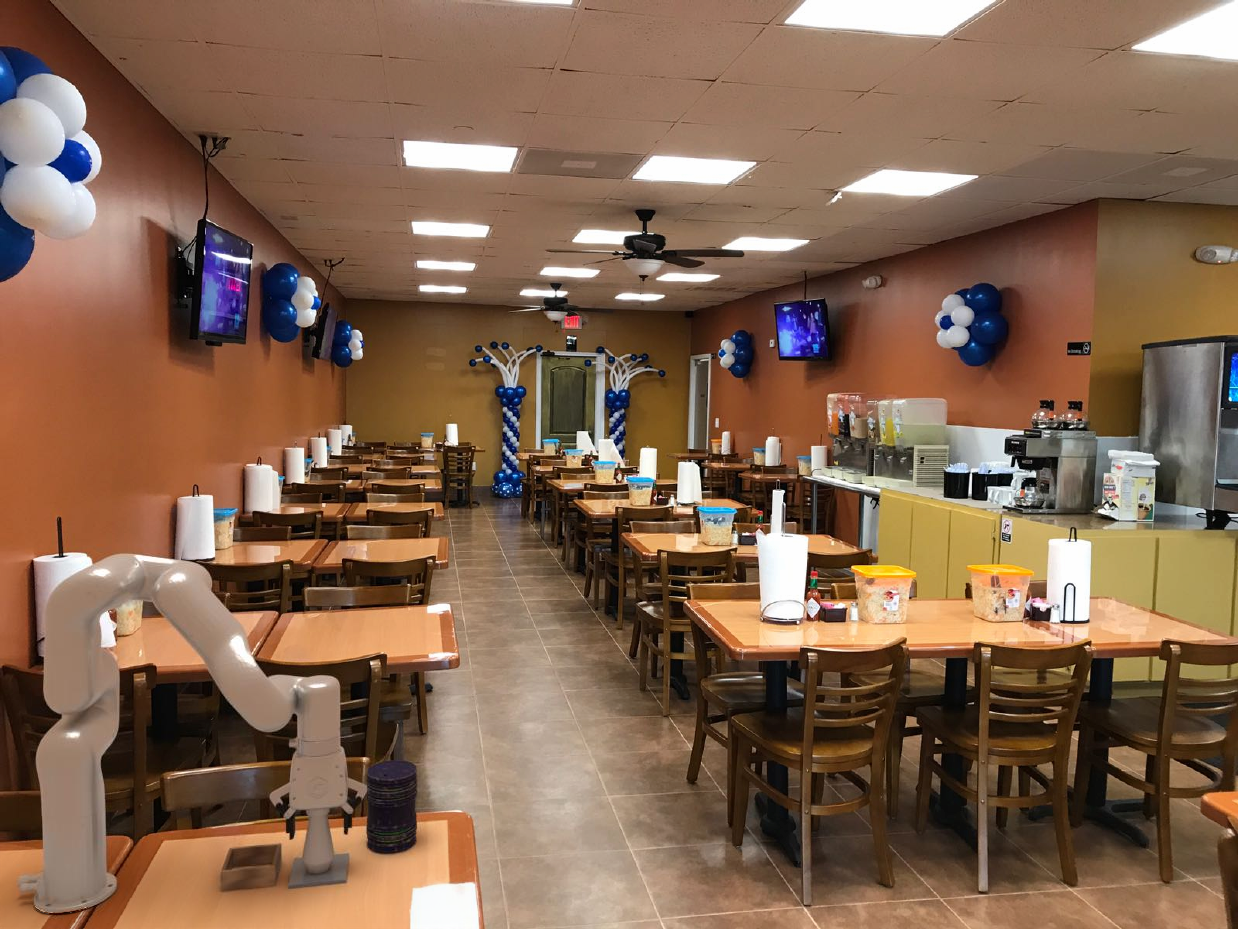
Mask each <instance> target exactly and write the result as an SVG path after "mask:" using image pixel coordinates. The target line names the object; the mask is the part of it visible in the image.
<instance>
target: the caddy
mask: <svg viewBox="0 0 1238 929" xmlns="http://www.w3.org/2000/svg"><path fill="white" fill-rule="evenodd" d="M282 857H283V856H282V842H279V843H268V844H266V843H265V844H259V845H258V844H257V845H255V844H254V845H248V846H247V845H245V846H235V847H234V846H233V847H229V849H228V852H227V855H226V856H225V859H224V862H223V865H222V867H221V870H220V877H219V879H220V880H219V882H220V892H226V891H227V892H228V891H236V890H237V891H239V890H245V889H246V890H247V889H259V888H267V887H275V886H276V884H277V881H276V880H278V876H279V873H280V872H279V871H280V869H281V868H280V867H281V865H282ZM267 863H270V864H272V865H269V866H259V865H268V864H267ZM247 866H256V867H247ZM257 866H258V867H257ZM237 867H243V868H237ZM244 867H245V868H244ZM233 868H234V869H233Z"/></svg>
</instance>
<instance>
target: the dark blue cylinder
mask: <svg viewBox="0 0 1238 929" xmlns="http://www.w3.org/2000/svg"><path fill="white" fill-rule="evenodd" d="M417 770H418V769H417V765H416V764H415V763H413V762H411V761H408V760H400V759H398V760H397V759H393V760H386V761H381V762H377V763H375V764H372V765H371V766H370V767H368V768H367V770H366V784H365V785H367V787H368V788H367V792H366V794H365V796H366V800H367V817H366V827H365V830H366V831H365V833H366V847H368V848H367V849H368V850H369V851H370V852H372V853H374V852H375V853H374V854H377V853H378V854H377V855H396V853H397V854H400V853H403V852H406V851H409V850H410V849H413V847H414V846H415V845H416V843H417V829H418V822H417V818H418V816H417V812H416V798H417V794H418V790H417V789H418V779H417V776H418V775H417Z"/></svg>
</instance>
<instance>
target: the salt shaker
mask: <svg viewBox="0 0 1238 929" xmlns="http://www.w3.org/2000/svg"><path fill="white" fill-rule="evenodd" d="M330 810H331V808H322V809H309V810H305V814H306V816H308V822H307V827H306V834H305V837H304V838H305V840H304V844H303V850H302V856H301V858H302V862H303V864H304V865H305V867H306V869H307V871H308V873H312V874H320V873H323V872H326V871H327V870H328V869H329V867H330V865H331V863H332V861H333V859H334V854H335V848H334V843H333V838H332V832H331V827H330V821H329V817H328V814H329V813H330Z"/></svg>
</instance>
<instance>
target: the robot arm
mask: <svg viewBox="0 0 1238 929" xmlns="http://www.w3.org/2000/svg"><path fill="white" fill-rule="evenodd" d="M212 587H213V579H212V576H211V575H210V572H209V571H208V570H207V569H206V568H205V567H204V566H203V565H201V564H199V563H196V562H193V561H190V560H183V559H173V558H166V557H158V556H149V555H144V554H134V553H117V554H112V555H110V556H107V557H105V558H103V559H100V560H99V561H97V562H94V563H93V564H91V565H89V566H87V567H85V568H83V569H82V570H79V571H77V572H75V573H73V574H72V575H70V576H68V577H67V578H65V579H63V580H62V581H61V582H59V584H57V586H56V587H55V588H54V590H52V592H51V594H50V596H49V597H48V599H47V603H46V604H45V613H44V648H43V686H42V687H43V692H42V693H43V696H44V697H43V699H44V701H45V702H46V705H47V706H48V707H49V708H50V709H51V711H53V712H55V713H57V714H59V715H61V719H59V720H58V721H57V722H56V723H55V724H54V725H53V726H52V727H51V728H50V729H49V730H48V731H47V732H46V733H45V734H44V736H43V737H42V739H41V740H40V742H39V745H38V746H37V749H36V753H35V754H36V755H35V767H36V772H37V777H38V783H39V787H40V802H41V817H42V818H41V820H42V822H41V823H42V852H43V853H42V854H43V855H42V857H43V859H42V860H43V871H40V872H39V873H36V874H30V873H29V874H22V875H18V876H19V877H18V879H17V887H18V888H19V892H20V893H28V892H35V895H34V896H33V906H34V905H35V906H36V907H37V908H39V909H40V910H43V911H45V912H50V913H51V912H61V911H70V910H76V909H79V908H81V907H88V908H87V909H89V908H92V907H93V906H96V905H98V904H100V903H102V902H104V901H105V900H107V899H109V897H111V896H112V895H113V894H114V892H115V891H116V890H117V887H118V886H117V884H118V879H117V876H115V875H114V874H112V873H110V872H107V832H106V831H107V830H106V826H107V825H106V799H105V798H106V794H105V790H106V789H105V783H104V778H103V772H102V768H101V766H102V765H101V760H102V756H103V755H104V754H105V753H106V751H107V750H108V748H109V747H110V746H111V745H112V744H113V742H114V741H115V739H116V737H117V735H118V734H117V733H118V731H119V725H120V682H121V680H120V678H121V677H120V668H119V664H118V662H117V659H116V658H115V656H114V655H113V654H112V652H110V651H109V650H108V649H106V648H104V647H102V639H103V638H102V635H103V634H102V627H101V623H100V621H101V620H100V619H101V617H102V615H103V614H104V613H107V612H109V611H112V610H115V609H117V608H119V607H120V606H122V605H123V604H125V603H126V602H129V601H130V600H131V601H133V600H134V601H140V602H151V603H153V605H154V607H155V608H156V610H157V611H158V612H159V614H161V616H163V618H164V619H166V621H167V622H168V623H169V624H170V625H171V626H172V627H173V628H174V629H175V630H176V631H177V633H179V635H180V636H181V637H182V638H183V639H184V641H185V642H187V643H188V644H189V646H190V647H191V648H192V649H193V650H194V651H195V652H196V654H197V655H199V657H200V658H201V659H202V661H203V663H204V664H205V666H206V669H207V671H208V673H209V674H210V675H211V677H212V679H213V680H214V682H215V684H216V686H217V687H218V689H219V691H220V692H221V694H222V695H223V696H224V697H225V699H226V701H227V702H228V703H229V704H230V705H231V706H232V707H233V709H235V710H236V712H237V713H238V714H239V715H240V716H241V717H242V718H243V719H244V720H245V721H246V722H247V723H248V724H249V725H250V726H251V727H253V728H254V729H256V730H258V731H261V732H264V733H272V732H277V731H279V730H281V729H283V728H285V726H286V725H287V724H288V723H289V721H290V720H291V718H292V716H293V714H295V715H296V716H297V724H296V725H297V726H296V727H297V736H296V737H295V738H293V739H288V740H289V742H288V746H289V748H293V749H294V748H295V751H294V753H293V754H292V758H291V759H292V760H291V764H290V777H289V782H287V783H286V784H284V785H283V786H280V787H279V788H277V789H275V790H274V791H272V792H270V794H269V800H270V801H271V803H272V804H273V805H274V807H275V810H276V811H277V812H278V813H280V814H281V815H282V816H283V818H284V819H285V834H289V835H288V836H289V841H290V840H291V841H292V840H293V839H294V838H295V835H296V811H306V810H309V809H322V808H330V809H331V808H338V807H339V808H340V807H341V808H342V809H343V810H344V811H343V835H346V836H348V835H349V829H352V828H353V812H354V811H355V809H357V807H359V806H360V804H362V801H363V799H364V797H365V796H366V794H367V788H368V787H367V785H366V784H364V783H362V782H360V781H357V780H355V779H352V778H350V777H348V766H347V764H348V763H347V759H346V753H345V749H344V747H343V746H341V685H340V682H339V680H338V678H336V677H334V676H331V675H324V674H323V675H321V674H319V675H312V676H308V677H307V676H295V675H288V674H275V675H274V674H273V675H269V676H268V677H267V676H266V674H265V673H264V671H263V670H262V669H261V667H260V666H259V664H258V663H257V662H256V660H255V658H254V656H253V653H252V651H251V648H250V645H249V640H248V636H247V633H246V630H245V628H244V626H243V625H242V623H240V621H239V620H238V619H237V618H236V617H235V616H234V614H232V612H231V611H229V609H228V608H227V607H226V606H225V605H224V604H223V603H222V602H221V600H220V599H219V598H218V597H217V596H216V595H215V593H214V592H213V591H212ZM349 789H352V790H354V791H356V792H357V794H356V795H355V796H354V797H353V798H350V797H349V796H348V794H349V793H348V790H349ZM288 793H289V794H288ZM286 794H288V796H289V797H288V798H289V799H288V800H289V804H288V805H287V803H285V802H284V801H283V800H282V799H281V797H283V796H285V795H286Z"/></svg>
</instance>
